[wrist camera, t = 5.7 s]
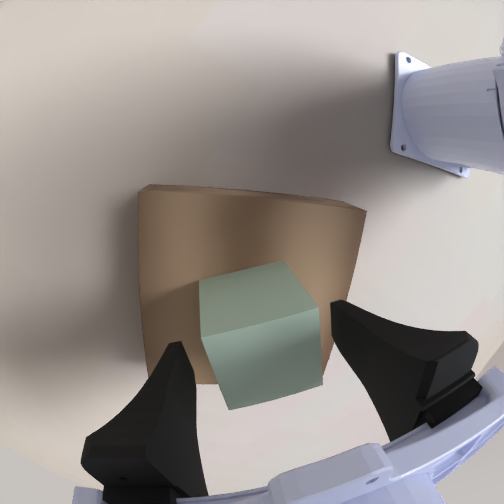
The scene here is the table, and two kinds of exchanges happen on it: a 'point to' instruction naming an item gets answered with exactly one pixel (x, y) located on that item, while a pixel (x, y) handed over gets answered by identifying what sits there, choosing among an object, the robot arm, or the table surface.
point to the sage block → (260, 334)
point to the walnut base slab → (235, 256)
